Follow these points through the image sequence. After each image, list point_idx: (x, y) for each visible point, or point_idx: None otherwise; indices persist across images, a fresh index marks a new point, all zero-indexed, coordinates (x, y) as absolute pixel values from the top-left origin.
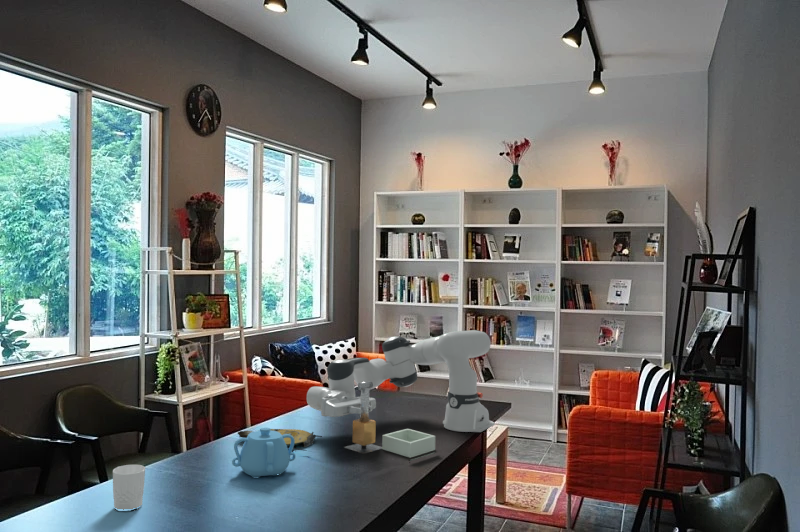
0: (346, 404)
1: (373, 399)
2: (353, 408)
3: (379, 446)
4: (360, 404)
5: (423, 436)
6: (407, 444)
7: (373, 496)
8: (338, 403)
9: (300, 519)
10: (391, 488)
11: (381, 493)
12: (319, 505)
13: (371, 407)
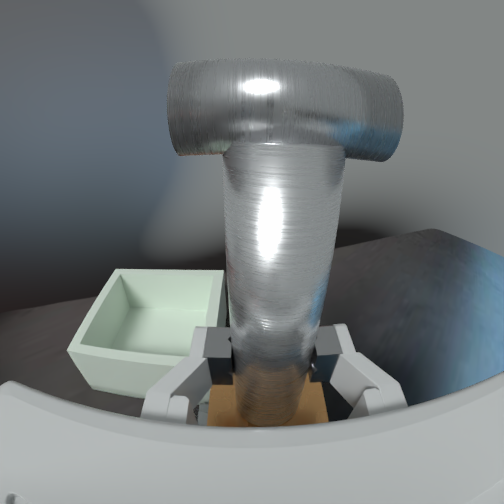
0: (442, 408)
1: (21, 386)
2: (378, 373)
3: (198, 424)
4: (310, 341)
5: (110, 299)
6: (223, 283)
7: (404, 252)
8: (493, 475)
9: (489, 255)
10: (367, 255)
11: (390, 253)
12: (473, 266)
13: (208, 327)
